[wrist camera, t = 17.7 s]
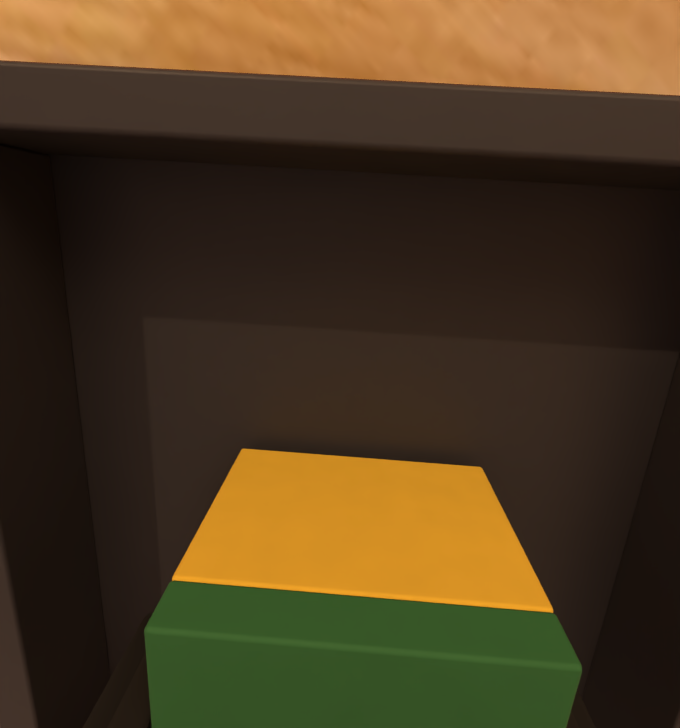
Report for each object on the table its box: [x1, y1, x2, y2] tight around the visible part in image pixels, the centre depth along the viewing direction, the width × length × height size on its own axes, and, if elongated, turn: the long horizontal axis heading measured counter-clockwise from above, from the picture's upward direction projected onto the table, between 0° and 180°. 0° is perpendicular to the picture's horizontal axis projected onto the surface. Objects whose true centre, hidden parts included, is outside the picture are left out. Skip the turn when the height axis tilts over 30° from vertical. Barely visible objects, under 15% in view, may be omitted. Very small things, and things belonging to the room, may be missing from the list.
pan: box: [0, 60, 680, 728], centre depth 11 cm, size 26×14×3 cm, turn 177°
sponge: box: [144, 449, 582, 728], centre depth 8 cm, size 7×5×4 cm
